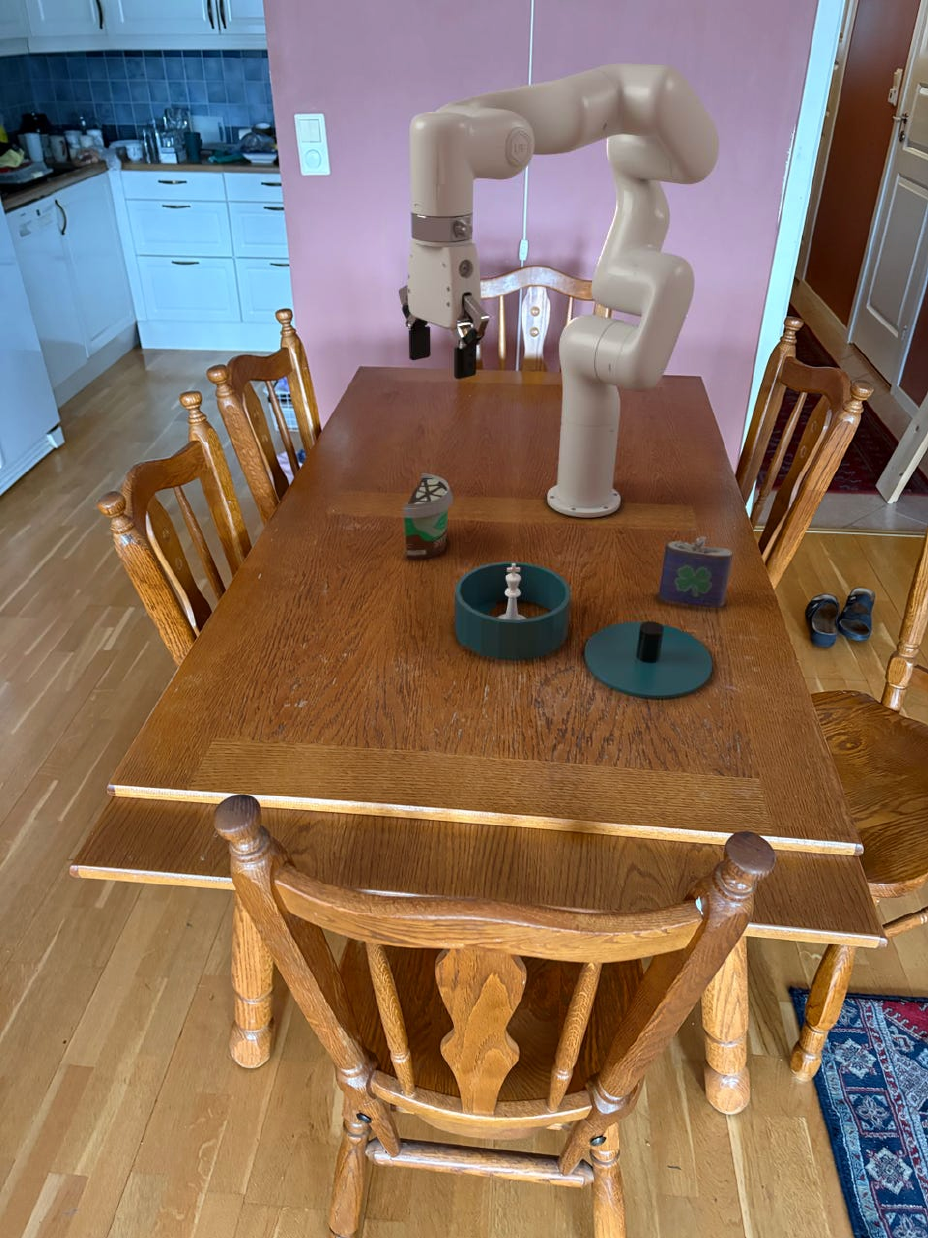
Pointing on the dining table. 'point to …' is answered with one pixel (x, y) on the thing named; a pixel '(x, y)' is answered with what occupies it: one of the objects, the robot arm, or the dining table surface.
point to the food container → (427, 517)
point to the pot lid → (648, 660)
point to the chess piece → (512, 594)
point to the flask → (695, 573)
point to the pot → (510, 635)
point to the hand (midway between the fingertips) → (441, 367)
